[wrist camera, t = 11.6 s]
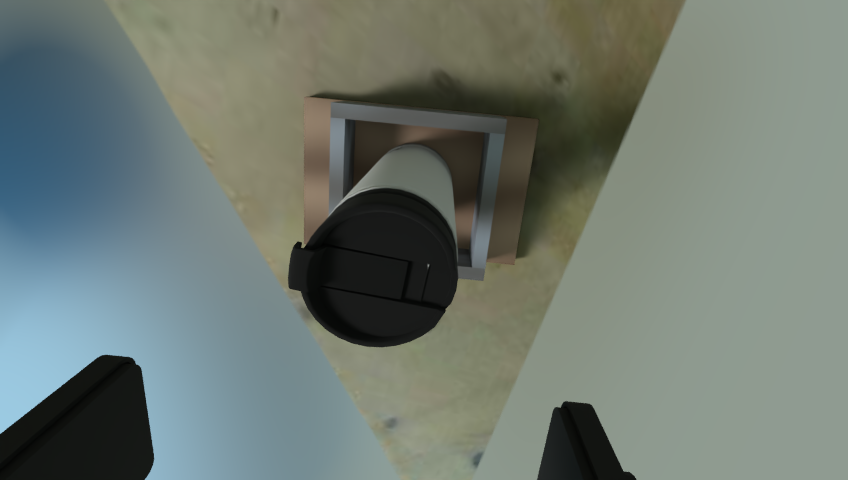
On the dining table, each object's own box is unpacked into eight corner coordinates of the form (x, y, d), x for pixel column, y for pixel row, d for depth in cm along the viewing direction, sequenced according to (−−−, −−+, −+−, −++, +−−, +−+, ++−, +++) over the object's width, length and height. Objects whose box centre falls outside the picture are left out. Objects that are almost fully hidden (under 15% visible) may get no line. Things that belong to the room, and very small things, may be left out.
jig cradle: (308, 96, 35) (286, 98, 30) (536, 118, 35) (551, 123, 30) (308, 239, 39) (288, 261, 34) (512, 259, 39) (522, 284, 34)
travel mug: (377, 134, 34) (295, 186, 15) (460, 152, 34) (479, 226, 16) (364, 209, 36) (277, 339, 17) (442, 226, 36) (440, 372, 18)
